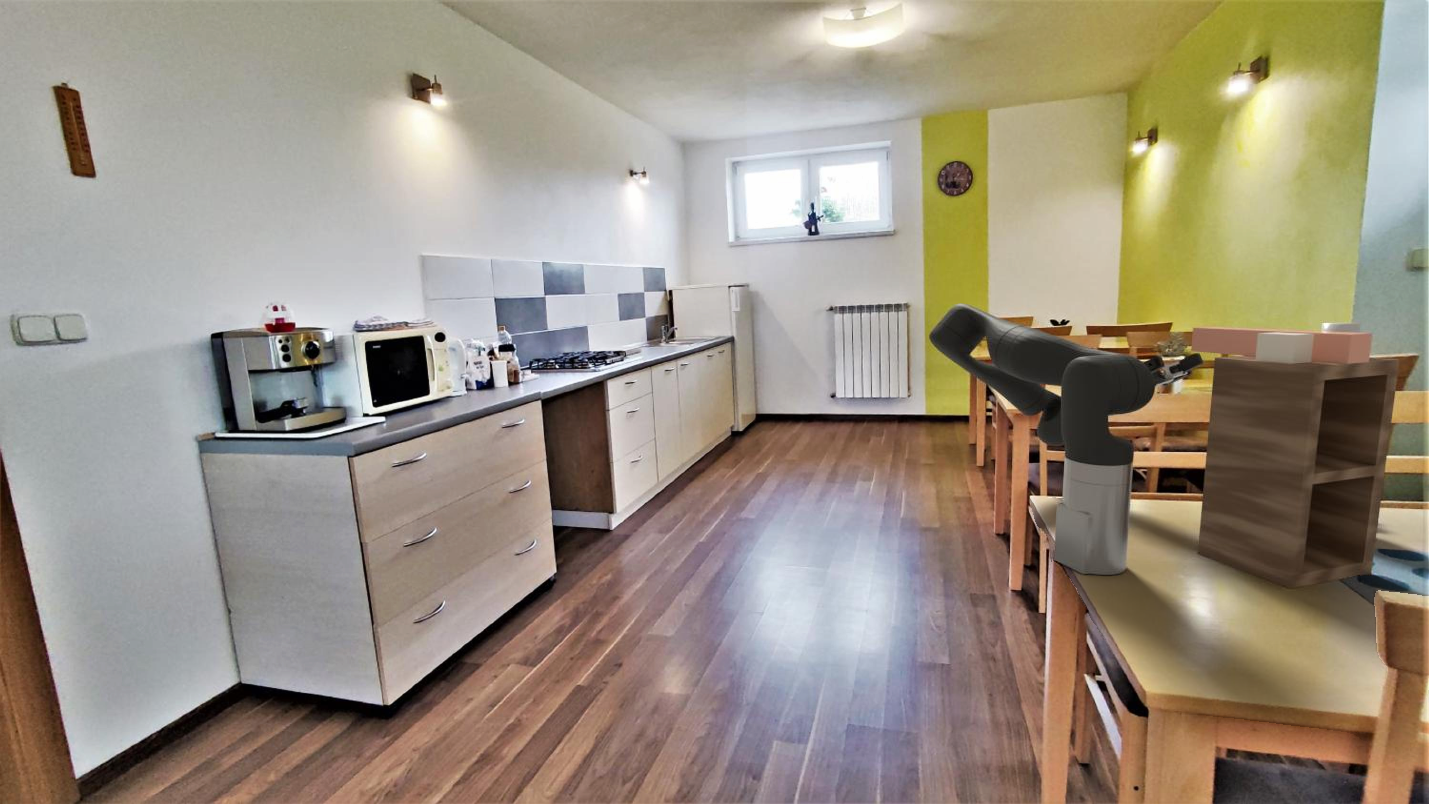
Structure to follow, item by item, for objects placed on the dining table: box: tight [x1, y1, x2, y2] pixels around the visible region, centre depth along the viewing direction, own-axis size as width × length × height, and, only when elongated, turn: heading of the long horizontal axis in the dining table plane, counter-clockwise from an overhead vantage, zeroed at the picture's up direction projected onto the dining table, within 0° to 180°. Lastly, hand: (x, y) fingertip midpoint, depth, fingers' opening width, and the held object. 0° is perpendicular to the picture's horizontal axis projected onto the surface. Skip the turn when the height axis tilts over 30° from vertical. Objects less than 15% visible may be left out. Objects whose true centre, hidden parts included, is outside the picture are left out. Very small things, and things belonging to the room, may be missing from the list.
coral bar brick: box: [1190, 326, 1373, 364], centre depth 103 cm, size 4×23×4 cm, turn 15°
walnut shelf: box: [1197, 355, 1400, 590], centre depth 102 cm, size 16×14×32 cm
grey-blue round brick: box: [1320, 322, 1362, 333], centre depth 99 cm, size 4×4×5 cm
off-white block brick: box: [1255, 332, 1314, 364], centre depth 96 cm, size 4×5×4 cm
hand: (1181, 359), depth 118 cm, fingers open, 8 cm apart
